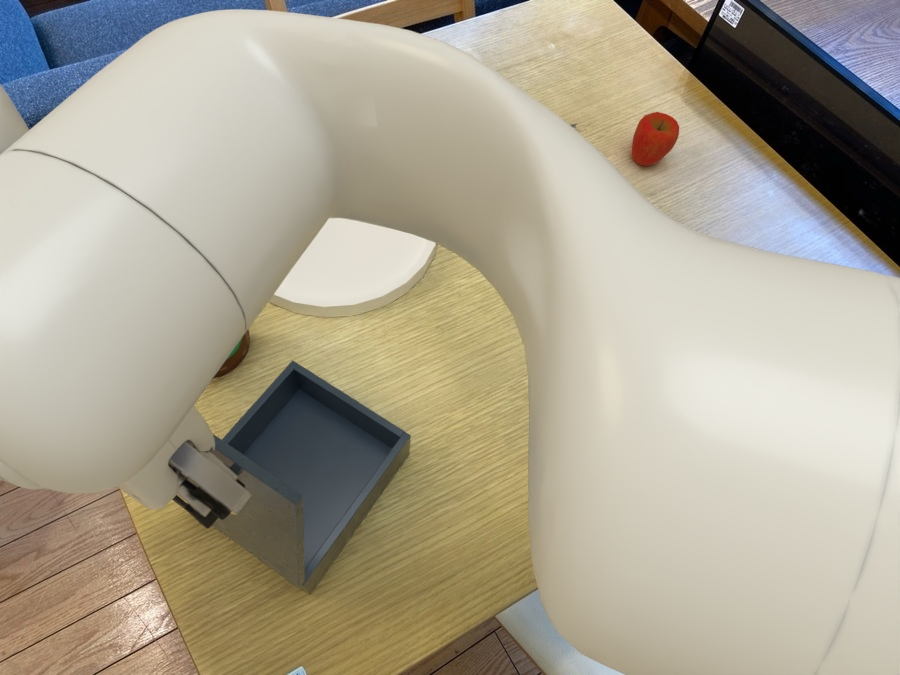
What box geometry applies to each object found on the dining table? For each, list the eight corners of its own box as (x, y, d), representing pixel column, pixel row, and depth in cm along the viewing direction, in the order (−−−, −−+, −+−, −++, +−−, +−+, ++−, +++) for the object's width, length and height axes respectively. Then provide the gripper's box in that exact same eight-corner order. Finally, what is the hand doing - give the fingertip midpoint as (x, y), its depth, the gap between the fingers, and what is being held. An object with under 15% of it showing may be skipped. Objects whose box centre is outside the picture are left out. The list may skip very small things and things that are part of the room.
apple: (655, 180, 95) (674, 142, 88) (618, 163, 96) (634, 124, 90) (670, 156, 98) (689, 118, 91) (634, 140, 99) (651, 100, 93)
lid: (134, 379, 46) (80, 422, 43) (303, 495, 43) (256, 550, 40) (175, 488, 60) (137, 526, 57) (305, 581, 57) (270, 626, 54)
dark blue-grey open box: (299, 383, 73) (292, 359, 68) (409, 454, 70) (411, 435, 65) (190, 508, 65) (174, 492, 60) (310, 595, 62) (302, 586, 57)
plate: (437, 321, 79) (439, 311, 77) (211, 313, 77) (205, 302, 75) (438, 161, 93) (439, 149, 91) (246, 151, 91) (243, 138, 89)
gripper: (-185, 289, 26) (22, 438, 41) (123, 523, 22) (227, 593, 37) (-24, 181, 29) (113, 355, 44) (264, 370, 26) (308, 489, 41)
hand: (165, 464), depth 41 cm, fingers open, 9 cm apart
